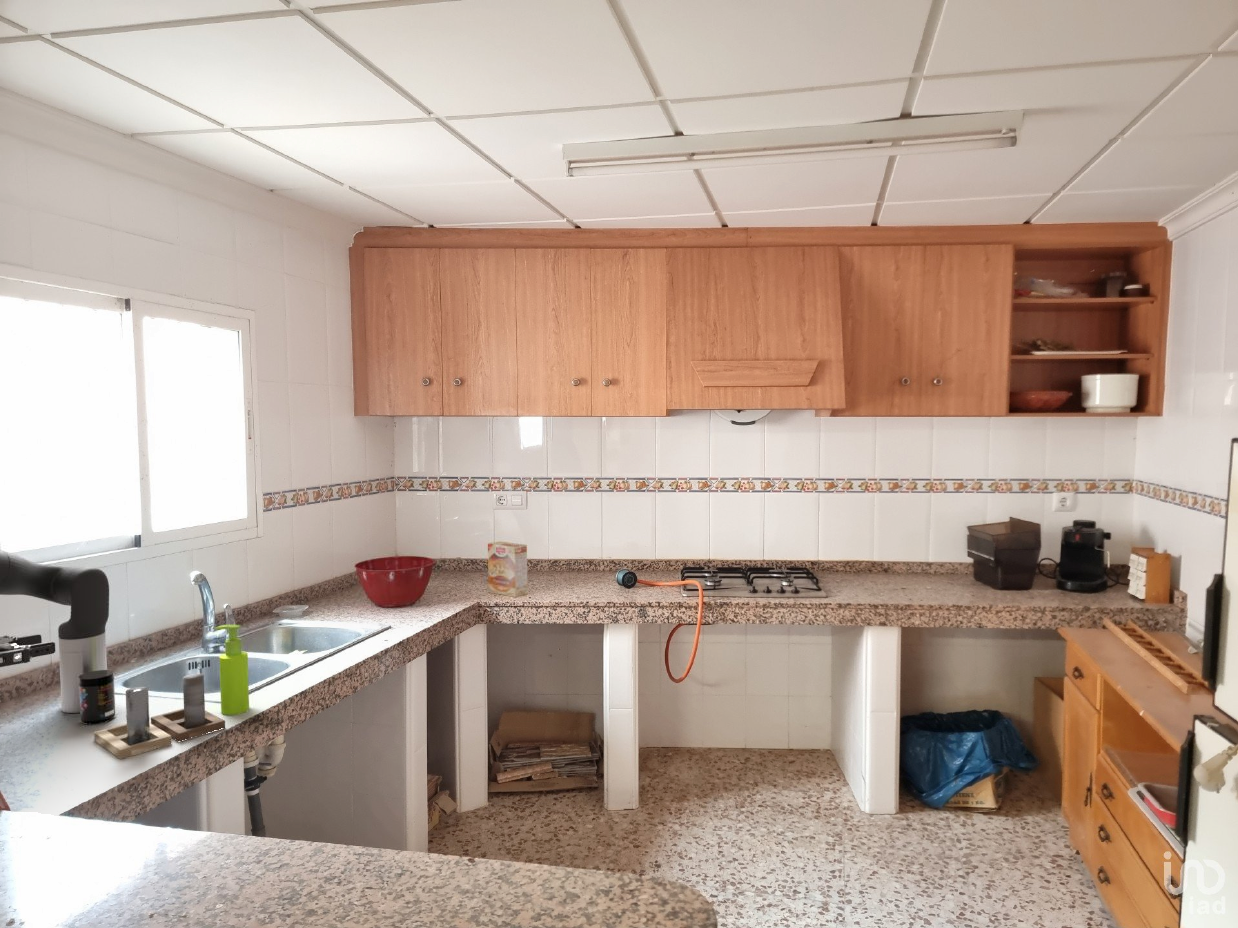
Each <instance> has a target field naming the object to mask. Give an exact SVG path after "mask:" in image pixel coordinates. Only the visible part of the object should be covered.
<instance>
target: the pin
mask: <svg viewBox="0 0 1238 928" xmlns="http://www.w3.org/2000/svg"><path fill="white" fill-rule="evenodd" d="M149 699H150V697H149V687H147V686H136V687H131V688H129V689H125V710H126V724H127V733H126V734H127V742H128V745H129V746H131V745H134V744H138V743H141V742H145V741H149V740H150V724H149V723H150V703H149V702H150V701H149Z"/></svg>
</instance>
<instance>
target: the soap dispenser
mask: <svg viewBox="0 0 1238 928" xmlns="http://www.w3.org/2000/svg"><path fill="white" fill-rule="evenodd" d="M213 629H214V631H217V630H228V638H227V639H226V640H225V641H224V650H225V651H224V653H223V654H220V655H219V685H220V711H221V712H220V713H221V714H222V715H226V716H235V715H241V714H243V713H247V712H248V711H249V710H250V693H249V692H250V690H249V664H248V663H249V661H248V660H249V659H248V655H249V654H248V652H246V651H242V639H241V638H240V637H238V629H239V630H240V629H241V625H240V624H222V625H219V626H216V627H214V628H213ZM247 710H248V711H247Z"/></svg>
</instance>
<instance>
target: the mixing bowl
mask: <svg viewBox="0 0 1238 928" xmlns="http://www.w3.org/2000/svg"><path fill="white" fill-rule="evenodd" d="M435 562H436V561H435V559H433V558H431V557H426V556H415V555H398V556H397V555H396V556H384V557H377V558H371V559H366V560H362V561H359V562H357V563H355V564H354V566H353V567H354V569H355V572H356V575H357V578H358V580H359V583H360V585H361V587H362V590H363V591H364V593H365V595H366V597H367V598H368V599H369V601H370V602H372V603H373V604H374V605H376V606H378V607H379V608H380V607H381V608H386V609H389V608H390V609H391V608H392V609H393V608H394V609H395V608H398V609H399V608H404V607H409V606H412V605H414V604H415V603H416V602H418V601H419V600H420V599H421V598H422V597H423V595H424V593H425V591H426V589H427V588H428V584H429V582H430V579H431V577H432V573H433V568H434V564H435Z"/></svg>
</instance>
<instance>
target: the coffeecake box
mask: <svg viewBox="0 0 1238 928" xmlns="http://www.w3.org/2000/svg"><path fill="white" fill-rule="evenodd" d="M527 547H528V545H527V544H522V543H515V542H508V541H507V542H506V541H495V542H494V541H492V542H488V543H487V577H488V579H487V580H488V583H487V584H488V586H487V587H488V592H487V593H489V594H490V593H491V594H494V595H495V594H497V595H500V596H501V595H502V596H507V597H512V598H517V597H521V596H522V597H523V596H525V595H528V548H527Z"/></svg>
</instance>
